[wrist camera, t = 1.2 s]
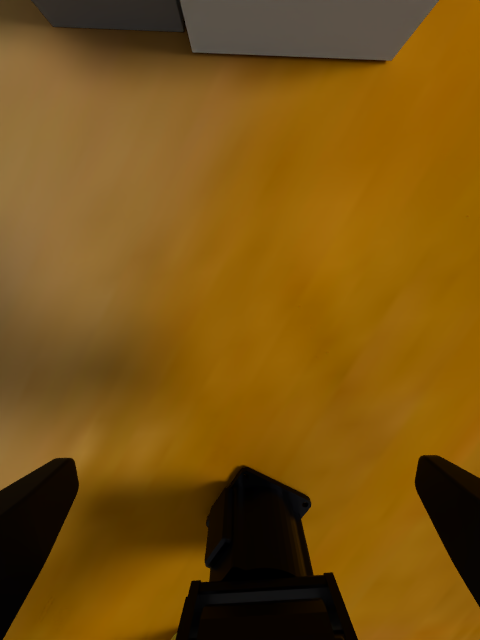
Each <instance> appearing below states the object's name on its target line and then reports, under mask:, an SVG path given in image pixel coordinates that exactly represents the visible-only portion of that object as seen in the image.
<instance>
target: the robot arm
mask: <svg viewBox="0 0 480 640" xmlns="http://www.w3.org/2000/svg"><path fill="white" fill-rule="evenodd" d="M244 474H248V475H244ZM415 487H416V490H417V493H418V495H419V497H420V499H421V501H422V503H423V505H424V507H425V509H426V511H427V513H428V515H429V517H430V519H431V521H432V523H433V525H434V527H435V529H436V531H437V533H438V535H439V537H440V539H441V541H442V542H443V544H444V546H445V548H446V550H447V552H448V554H449V556H450V558H451V560H452V562H453V563H454V565H455V567H456V569H457V570H458V572H459V574H460V575H461V577H462V579H463V580H464V582H465V584H466V585H467V587H468V589H469V590H470V592H471V594H472V595H473V597H474V599H475V600H476V602H477V604H478V605H479V607H480V478H478V477H477V476H475V475H473V474H471V473H469V472H467V471H466V470H464V469H462V468H460V467H458V466H457V465H455V464H453V463H451V462H449V461H447V460H446V459H444V458H442V457H440V456H437V455H423V456H421V457H420V458H419V460H418V466H417V471H416V477H415ZM78 488H79V481H78V476H77V471H76V466H75V461H74V460H73V459H72V458H56V459H53V460H52V461H50V462H48V463H47V464H45V465H43V466H41V467H40V468H38V469H36V470H35V471H33V472H31V473H30V474H28V475H26V476H24V477H23V478H21V479H19V480H18V481H16V482H14V483H13V484H11V485H9V486H7V487H6V488H4V489H2V490H1V491H0V640H3V638H4V637H5V635H6V633H7V631H8V629H9V628H10V626H11V624H12V622H13V620H14V619H15V617H16V615H17V613H18V611H19V610H20V608H21V606H22V604H23V602H24V601H25V599H26V597H27V595H28V593H29V592H30V590H31V588H32V586H33V584H34V583H35V581H36V579H37V577H38V575H39V573H40V571H41V570H42V568H43V566H44V564H45V562H46V560H47V558H48V556H49V554H50V552H51V549H52V547H53V545H54V543H55V541H56V539H57V536H58V534H59V532H60V530H61V528H62V525H63V523H64V521H65V519H66V517H67V515H68V512H69V510H70V508H71V506H72V504H73V501H74V499H75V497H76V495H77V492H78ZM304 502H306V503H304ZM310 507H311V501H310V498H309V497H308V496H306V495H304V494H302V493H300V492H298V491H296V490H294V489H292V488H290V487H288V486H285V485H283V484H281V483H279V482H277V481H275V480H273V479H271V478H269V477H267V476H265V475H263V474H261V473H259V472H257V471H255V470H252V469H250V468H248V467H244V468H242V469H241V470H240V471H239V473H238V474H237V476H236V477H235V478H234V480H233V481H232V483H231V484H230V486H229V487H226V488H225V489H224V490H223V492H222V493H221V495H220V496H219V497H218V499H217V500H216V502H215V503H214V505H213V506H212V508H211V510H210V514H209V516H208V517H207V522H206V525H207V527H208V536H207V544H206V553H205V565H206V567H208V568H210V579H209V582H201V580H198V581H192V582H191V586H190V590H189V594H188V597H186V599H185V603H184V607H183V611H182V615H181V619H180V623H179V627H178V631H177V635H176V639H175V640H358V639H357V636H356V633H355V631H354V628H353V625H352V623H351V620H350V617H349V615H348V612H347V609H346V607H345V604H344V601H343V599H342V596H341V593H340V591H339V588H338V585H337V583H336V580H335V577H334V575H333V573H332V572H331V573H324V575H313V570H312V566H311V561H310V557H309V552H308V548H307V544H306V539H305V535H304V530H303V526H302V521H301V518H302V517H303V516H304V515H305V513H306V512H307V511H308V510H309V508H310Z"/></svg>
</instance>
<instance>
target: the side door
mask: <svg viewBox="0 0 480 640" xmlns="http://www.w3.org/2000/svg"><path fill="white" fill-rule="evenodd" d="M438 1H439V0H180V3H181V7H182V11H183V15H184V19H185V24H186V28H187V32H188V36H189V40H190V44H191V48H192V52H196V53H221V54H245V55H269V56H293V57H317V58H342V59H366V60H390V61H391V60H392V59H393V58H394V57H395V55H396V54H397V53H398V52H399V50H400V49H401V48H402V46H403V45H404V44H405V43H406V41H407V40H408V39H409V38H410V36H411V35H412V34H413V33H414V31H415V30H416V29H417V27H418V26H419V25H420V24H421V22H422V21H423V20H424V19H425V17H426V16H427V15H428V14H429V12H430V11H431V10H432V8H433V7H434V6H435V5H436V3H437V2H438Z"/></svg>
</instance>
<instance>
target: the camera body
mask: <svg viewBox="0 0 480 640" xmlns="http://www.w3.org/2000/svg"><path fill="white" fill-rule="evenodd" d="M31 1H32V2H33V3H34V4H35V6H36V7H37V8H38V9H39V10H40V12H41V13H42V14H43V15H44V16H45V18H46V19H47V20H48V21H49V22H50V24H51V25H52V26H53V27H74V28H98V29H122V30H146V31H170V32H184V21H183V11H182V7H181V3H180V0H31Z"/></svg>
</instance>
